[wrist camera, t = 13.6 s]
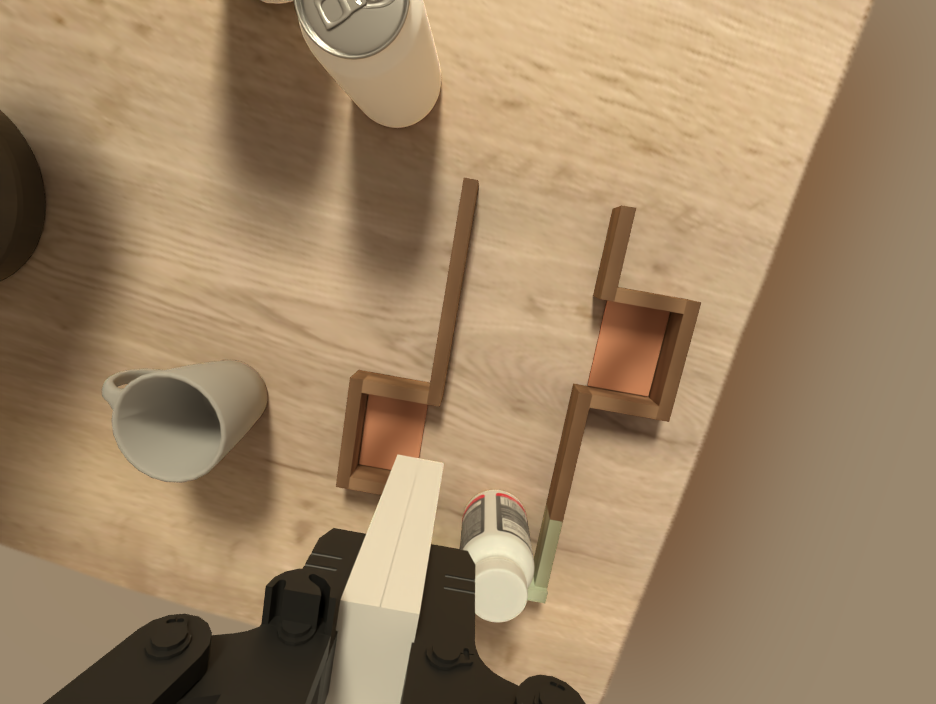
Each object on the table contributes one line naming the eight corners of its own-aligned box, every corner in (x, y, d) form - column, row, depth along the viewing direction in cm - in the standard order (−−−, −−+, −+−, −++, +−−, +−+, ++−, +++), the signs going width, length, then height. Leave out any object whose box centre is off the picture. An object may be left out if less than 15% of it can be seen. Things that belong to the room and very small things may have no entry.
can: (457, 104, 35) (441, 30, 23) (376, 145, 36) (322, 92, 24) (418, 14, 34) (381, -113, 22) (336, 57, 35) (259, -43, 23)
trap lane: (335, 541, 42) (324, 563, 39) (385, 168, 36) (376, 161, 33) (610, 591, 42) (619, 616, 39) (706, 225, 36) (726, 223, 33)
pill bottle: (472, 551, 42) (467, 639, 32) (455, 495, 41) (445, 568, 31) (533, 538, 42) (547, 623, 32) (518, 481, 41) (528, 551, 31)
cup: (262, 451, 41) (204, 501, 33) (150, 403, 41) (62, 441, 32) (293, 370, 40) (241, 401, 31) (177, 319, 39) (92, 337, 31)
